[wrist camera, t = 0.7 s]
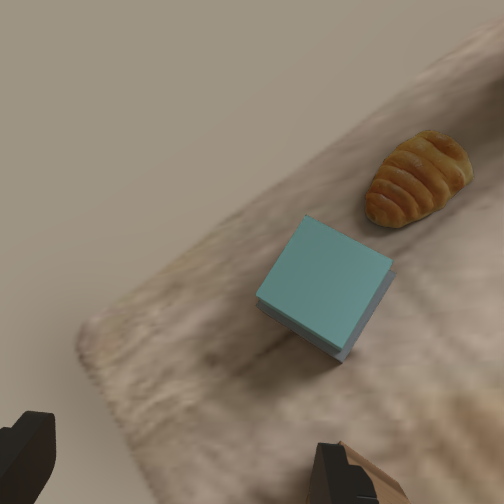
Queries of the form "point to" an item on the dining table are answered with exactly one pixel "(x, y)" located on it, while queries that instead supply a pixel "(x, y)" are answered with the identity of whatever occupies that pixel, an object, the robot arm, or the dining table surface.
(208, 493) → the dining table surface
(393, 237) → the dining table surface
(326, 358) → the dining table surface
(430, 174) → the pastry
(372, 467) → the walnut pillar
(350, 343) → the tower base slab
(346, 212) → the dining table surface
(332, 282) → the tower top slab
